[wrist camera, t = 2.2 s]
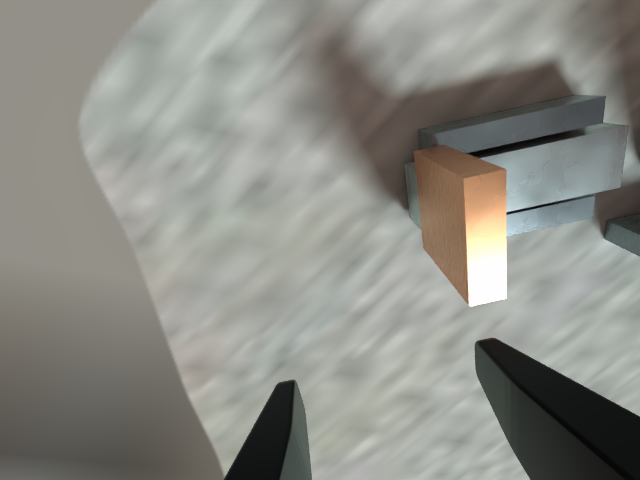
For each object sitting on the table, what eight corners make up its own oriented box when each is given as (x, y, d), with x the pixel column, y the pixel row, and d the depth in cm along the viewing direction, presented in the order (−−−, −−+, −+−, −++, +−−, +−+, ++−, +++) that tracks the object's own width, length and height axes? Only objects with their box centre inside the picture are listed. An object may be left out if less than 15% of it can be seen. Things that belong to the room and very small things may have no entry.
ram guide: (574, 95, 18) (605, 96, 16) (566, 205, 21) (592, 217, 19) (418, 129, 18) (432, 134, 17) (428, 235, 21) (441, 250, 19)
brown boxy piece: (597, 101, 18) (775, 110, 11) (588, 195, 20) (735, 249, 13) (401, 144, 18) (463, 178, 12) (411, 233, 20) (469, 306, 14)
